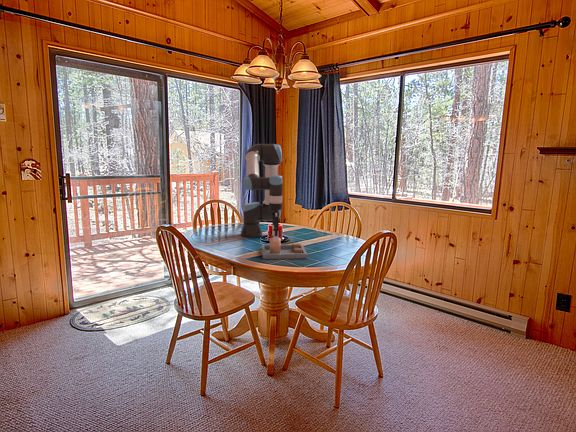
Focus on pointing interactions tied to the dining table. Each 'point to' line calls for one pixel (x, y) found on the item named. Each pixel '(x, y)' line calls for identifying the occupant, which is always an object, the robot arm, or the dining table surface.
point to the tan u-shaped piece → (275, 246)
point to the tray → (283, 252)
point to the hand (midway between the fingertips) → (275, 238)
